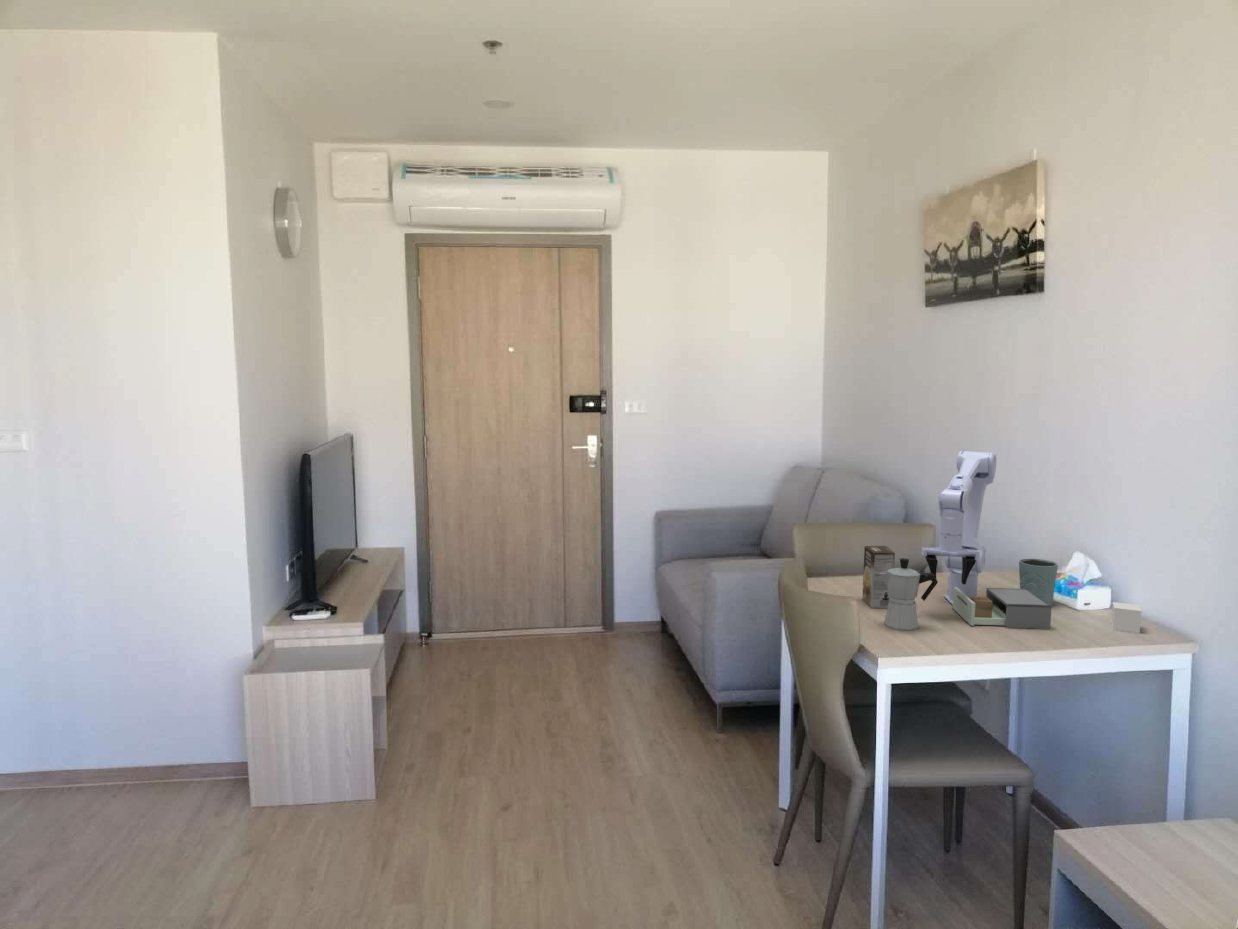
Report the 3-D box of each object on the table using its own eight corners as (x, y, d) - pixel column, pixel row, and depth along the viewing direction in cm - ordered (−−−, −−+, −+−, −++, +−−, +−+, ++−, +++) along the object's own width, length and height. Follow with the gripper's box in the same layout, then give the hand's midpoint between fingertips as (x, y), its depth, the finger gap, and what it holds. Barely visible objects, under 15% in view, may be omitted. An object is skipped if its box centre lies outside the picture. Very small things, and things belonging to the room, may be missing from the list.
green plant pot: (1027, 607, 236) (1030, 566, 235) (1009, 597, 246) (1012, 558, 245) (1062, 607, 236) (1065, 566, 235) (1043, 597, 246) (1046, 557, 245)
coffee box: (861, 599, 244) (863, 545, 242) (883, 599, 244) (885, 545, 242) (870, 608, 235) (873, 552, 233) (893, 608, 235) (896, 552, 233)
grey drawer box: (985, 609, 234) (986, 587, 233) (1026, 611, 233) (1027, 589, 232) (1006, 627, 218) (1007, 604, 217) (1050, 629, 217) (1051, 605, 216)
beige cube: (1137, 627, 220) (1139, 605, 219) (1139, 633, 214) (1141, 611, 213) (1110, 623, 222) (1112, 601, 221) (1112, 630, 217) (1114, 607, 216)
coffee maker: (879, 629, 216) (882, 561, 214) (873, 619, 225) (876, 554, 223) (939, 632, 214) (942, 564, 212) (931, 622, 223) (934, 556, 221)
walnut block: (968, 612, 229) (969, 596, 228) (985, 612, 228) (986, 596, 228) (973, 617, 224) (974, 601, 224) (991, 618, 224) (992, 601, 223)
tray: (951, 607, 235) (953, 587, 234) (992, 609, 234) (994, 588, 233) (970, 625, 219) (971, 603, 218) (1014, 627, 218) (1015, 604, 217)
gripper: (926, 535, 222) (923, 585, 224) (983, 537, 220) (980, 588, 221) (921, 530, 229) (918, 578, 231) (976, 532, 227) (974, 581, 228)
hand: (948, 582), depth 226 cm, fingers open, 7 cm apart
